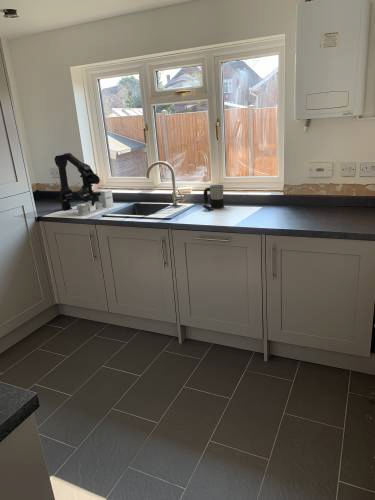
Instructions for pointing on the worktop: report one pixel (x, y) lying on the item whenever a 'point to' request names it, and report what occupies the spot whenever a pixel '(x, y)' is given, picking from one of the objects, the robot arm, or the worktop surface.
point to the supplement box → (106, 198)
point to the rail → (84, 209)
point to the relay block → (79, 205)
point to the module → (90, 206)
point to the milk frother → (214, 197)
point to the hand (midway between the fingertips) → (90, 205)
